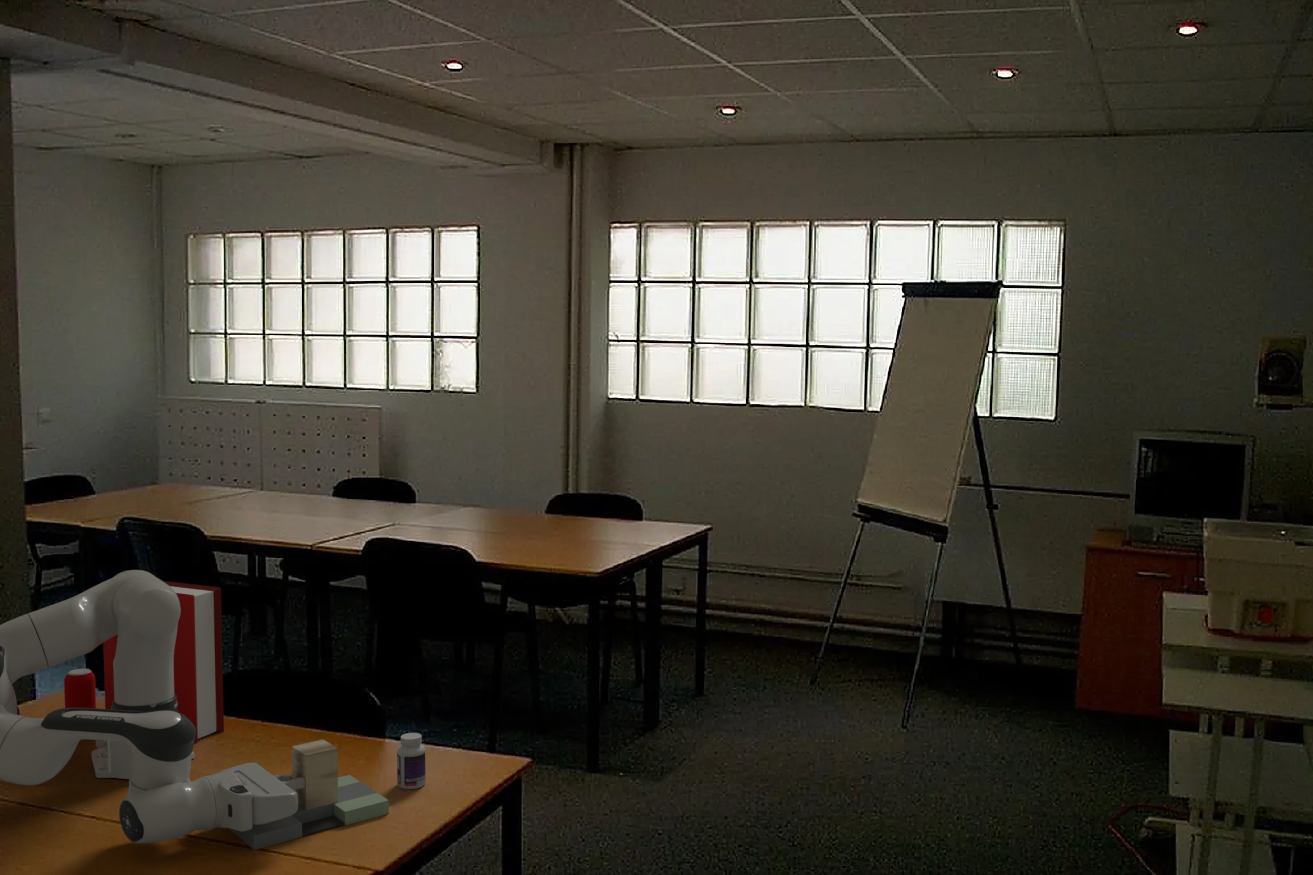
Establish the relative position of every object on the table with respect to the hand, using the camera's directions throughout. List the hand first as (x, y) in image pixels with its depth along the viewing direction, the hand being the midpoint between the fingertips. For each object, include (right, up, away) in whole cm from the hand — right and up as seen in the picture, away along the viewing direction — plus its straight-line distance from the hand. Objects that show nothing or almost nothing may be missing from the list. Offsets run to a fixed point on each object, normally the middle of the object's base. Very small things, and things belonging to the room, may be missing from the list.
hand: (301, 780), depth 215 cm
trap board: (0, -7, +2) cm, 8 cm away
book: (-45, -3, +49) cm, 67 cm away
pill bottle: (+16, -6, +18) cm, 25 cm away
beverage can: (-64, -3, +52) cm, 82 cm away
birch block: (+2, -5, +3) cm, 6 cm away
